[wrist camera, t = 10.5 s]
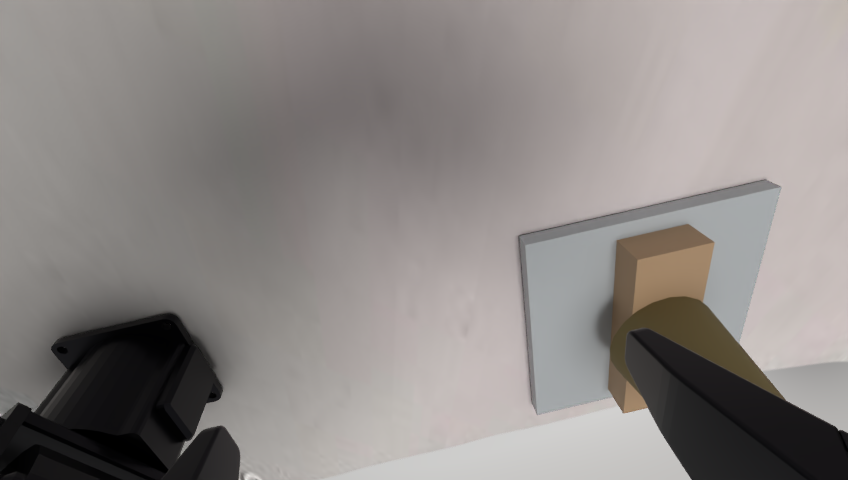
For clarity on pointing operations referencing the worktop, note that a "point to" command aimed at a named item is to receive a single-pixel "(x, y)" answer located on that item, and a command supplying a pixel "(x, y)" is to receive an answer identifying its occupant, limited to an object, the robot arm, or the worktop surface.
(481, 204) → the worktop surface
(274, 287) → the worktop surface
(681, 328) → the olive pepper mill
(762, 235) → the ridge board
